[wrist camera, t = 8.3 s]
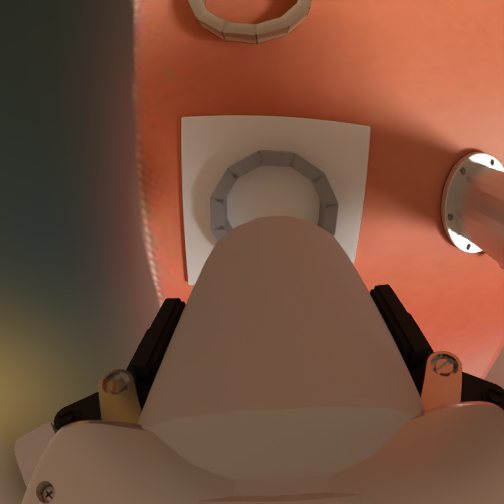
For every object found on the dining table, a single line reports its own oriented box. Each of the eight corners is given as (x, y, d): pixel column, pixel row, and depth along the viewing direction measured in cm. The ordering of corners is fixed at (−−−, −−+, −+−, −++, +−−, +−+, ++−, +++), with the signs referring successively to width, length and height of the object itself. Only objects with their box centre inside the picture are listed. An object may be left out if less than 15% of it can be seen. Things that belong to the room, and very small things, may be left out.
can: (280, 354, 17) (282, 548, 6) (178, 285, 15) (80, 499, 4) (375, 273, 14) (481, 483, 3) (270, 177, 12) (281, 480, 1)
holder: (368, 126, 24) (380, 126, 21) (346, 289, 31) (353, 304, 28) (183, 117, 24) (172, 115, 21) (189, 282, 32) (182, 296, 29)
